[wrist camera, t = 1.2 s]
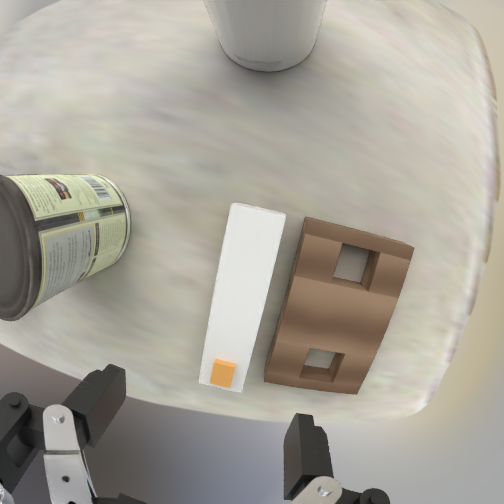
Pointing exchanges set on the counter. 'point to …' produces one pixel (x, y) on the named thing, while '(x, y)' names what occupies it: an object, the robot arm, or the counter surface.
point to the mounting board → (335, 308)
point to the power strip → (240, 294)
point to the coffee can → (56, 235)
